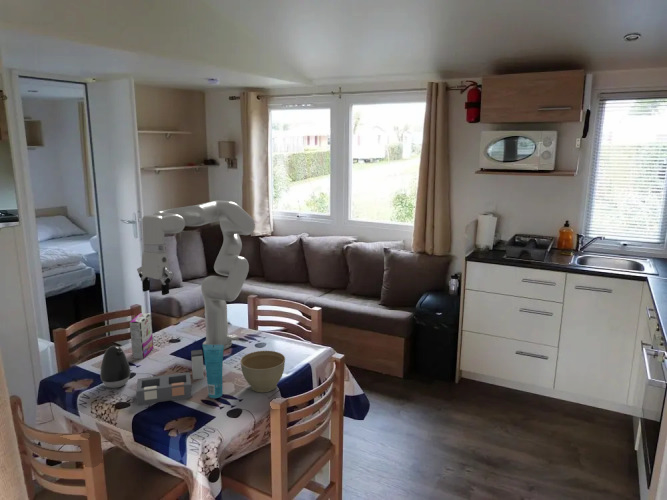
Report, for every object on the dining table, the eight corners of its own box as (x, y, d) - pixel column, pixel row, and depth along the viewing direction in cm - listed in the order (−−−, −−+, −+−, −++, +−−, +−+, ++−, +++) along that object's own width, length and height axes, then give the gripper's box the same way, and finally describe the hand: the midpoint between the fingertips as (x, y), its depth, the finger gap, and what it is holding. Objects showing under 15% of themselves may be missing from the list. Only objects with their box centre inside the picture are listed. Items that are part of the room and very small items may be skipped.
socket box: (190, 384, 183) (189, 371, 182) (191, 397, 174) (191, 383, 173) (138, 391, 178) (137, 377, 177) (137, 405, 168) (136, 391, 167)
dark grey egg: (111, 394, 176) (108, 354, 173) (95, 386, 182) (92, 347, 179) (137, 383, 184) (134, 345, 181) (121, 376, 190) (118, 338, 187)
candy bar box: (142, 348, 216) (139, 312, 213) (153, 348, 216) (151, 312, 212) (131, 359, 205) (128, 321, 202) (143, 359, 205) (140, 321, 202)
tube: (226, 391, 178) (224, 341, 174) (225, 398, 173) (223, 347, 170) (205, 392, 177) (203, 342, 174) (203, 399, 173) (201, 347, 169)
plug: (203, 373, 192) (201, 349, 190) (203, 378, 189) (202, 353, 187) (192, 375, 191) (191, 350, 189) (192, 379, 187) (191, 354, 185)
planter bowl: (249, 375, 191) (249, 348, 189) (290, 378, 189) (290, 352, 186) (234, 395, 176) (233, 366, 174) (278, 399, 173) (278, 370, 171)
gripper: (178, 249, 184) (180, 293, 187) (144, 244, 192) (146, 287, 195) (164, 252, 178) (165, 298, 181) (129, 247, 185) (131, 291, 188)
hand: (155, 292), depth 188 cm, fingers open, 9 cm apart
